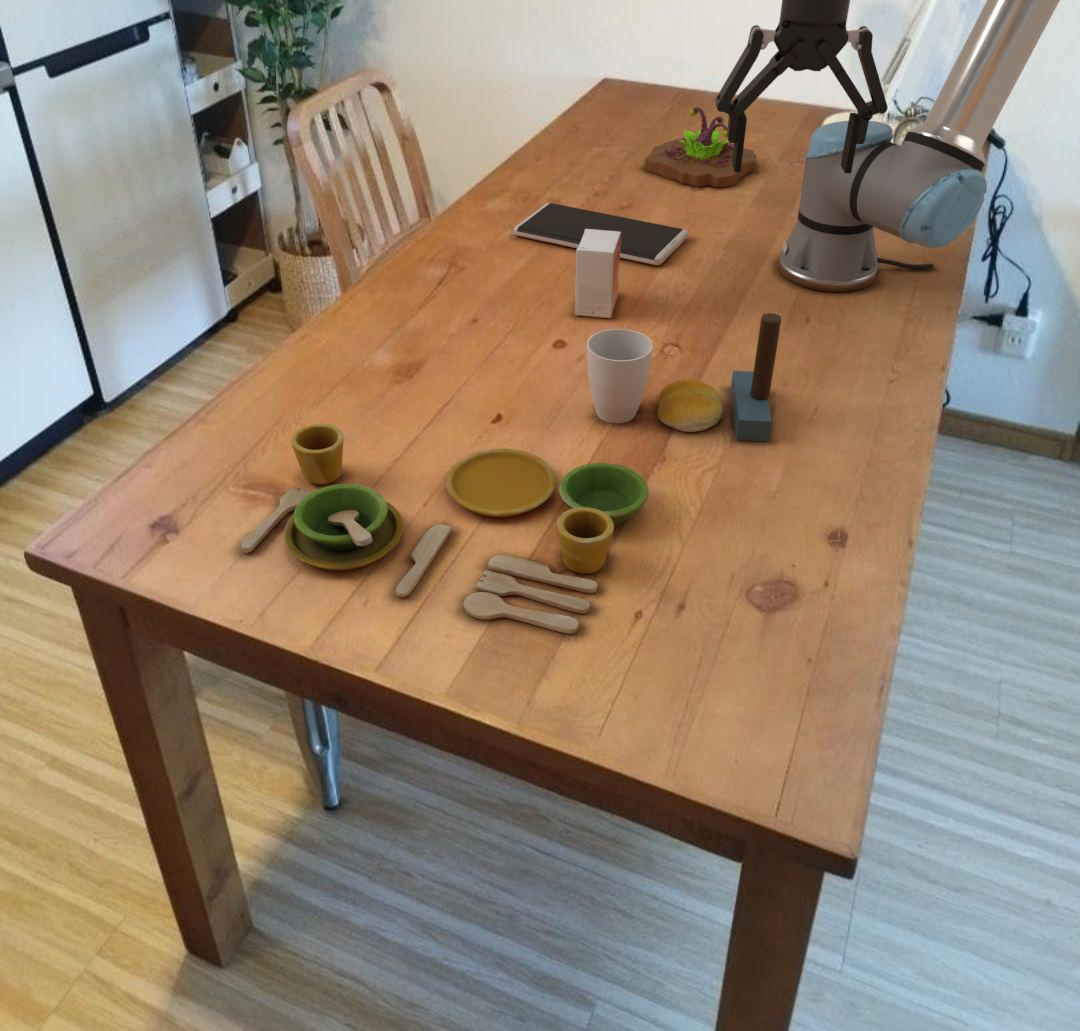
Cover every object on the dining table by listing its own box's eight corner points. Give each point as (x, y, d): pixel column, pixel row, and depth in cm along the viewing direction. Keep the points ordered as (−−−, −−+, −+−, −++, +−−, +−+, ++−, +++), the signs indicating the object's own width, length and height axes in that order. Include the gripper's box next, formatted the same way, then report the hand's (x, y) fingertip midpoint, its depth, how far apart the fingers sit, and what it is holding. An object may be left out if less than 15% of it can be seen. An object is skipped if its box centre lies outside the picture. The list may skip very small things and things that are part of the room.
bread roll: (656, 433, 135) (658, 406, 132) (658, 395, 142) (660, 369, 139) (722, 437, 134) (726, 410, 132) (721, 399, 141) (724, 373, 139)
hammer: (762, 391, 143) (776, 295, 134) (770, 442, 133) (786, 342, 125) (730, 390, 143) (743, 294, 134) (736, 440, 134) (750, 340, 125)
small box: (611, 319, 159) (614, 252, 152) (574, 316, 160) (575, 249, 153) (619, 295, 165) (622, 230, 158) (583, 292, 166) (584, 227, 159)
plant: (681, 143, 219) (686, 86, 212) (768, 163, 210) (776, 104, 203) (630, 171, 206) (633, 112, 199) (720, 194, 197) (726, 133, 190)
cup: (654, 402, 140) (659, 334, 134) (638, 435, 134) (643, 365, 128) (595, 391, 143) (597, 324, 136) (576, 423, 137) (578, 354, 130)
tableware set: (224, 553, 116) (213, 506, 112) (347, 422, 137) (341, 379, 133) (584, 648, 105) (586, 600, 101) (660, 489, 125) (664, 445, 121)
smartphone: (547, 210, 191) (547, 200, 190) (689, 238, 182) (690, 228, 181) (511, 237, 182) (511, 227, 181) (659, 268, 172) (660, 258, 171)
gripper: (921, -24, 123) (884, 159, 136) (704, -26, 124) (688, 157, 137) (939, -9, 117) (898, 181, 130) (710, -11, 118) (693, 178, 131)
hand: (790, 169), depth 133 cm, fingers open, 13 cm apart
